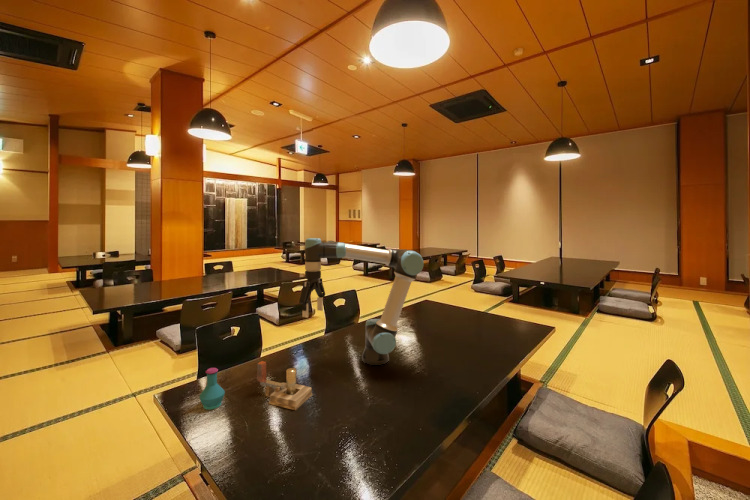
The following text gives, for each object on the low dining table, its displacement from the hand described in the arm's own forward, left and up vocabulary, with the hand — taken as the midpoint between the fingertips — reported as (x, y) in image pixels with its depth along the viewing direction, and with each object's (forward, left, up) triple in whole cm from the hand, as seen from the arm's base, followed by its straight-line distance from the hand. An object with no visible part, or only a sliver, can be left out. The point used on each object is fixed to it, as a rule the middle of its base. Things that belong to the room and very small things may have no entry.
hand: (313, 313), depth 157 cm
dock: (0, +22, -31) cm, 38 cm away
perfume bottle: (+24, +38, -32) cm, 55 cm away
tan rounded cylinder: (-3, +22, -31) cm, 38 cm away
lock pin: (+8, +22, -28) cm, 36 cm away
